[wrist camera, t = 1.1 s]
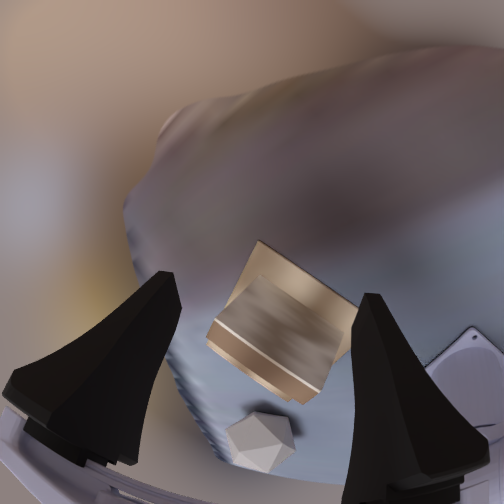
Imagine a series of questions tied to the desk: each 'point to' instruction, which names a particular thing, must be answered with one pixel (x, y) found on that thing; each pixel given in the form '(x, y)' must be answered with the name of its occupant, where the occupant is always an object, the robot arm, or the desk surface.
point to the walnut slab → (278, 339)
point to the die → (261, 441)
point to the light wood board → (300, 289)
